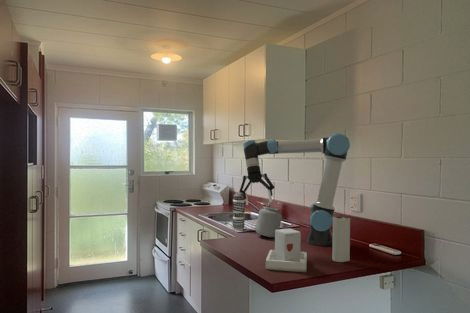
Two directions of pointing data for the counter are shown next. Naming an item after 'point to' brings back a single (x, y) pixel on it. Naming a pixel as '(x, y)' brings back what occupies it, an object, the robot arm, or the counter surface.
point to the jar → (268, 221)
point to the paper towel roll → (341, 239)
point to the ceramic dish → (286, 263)
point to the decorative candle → (238, 211)
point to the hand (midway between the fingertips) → (259, 203)
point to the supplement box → (287, 245)
